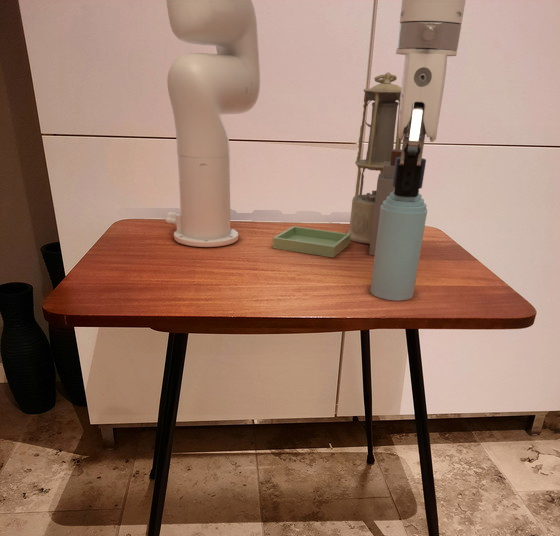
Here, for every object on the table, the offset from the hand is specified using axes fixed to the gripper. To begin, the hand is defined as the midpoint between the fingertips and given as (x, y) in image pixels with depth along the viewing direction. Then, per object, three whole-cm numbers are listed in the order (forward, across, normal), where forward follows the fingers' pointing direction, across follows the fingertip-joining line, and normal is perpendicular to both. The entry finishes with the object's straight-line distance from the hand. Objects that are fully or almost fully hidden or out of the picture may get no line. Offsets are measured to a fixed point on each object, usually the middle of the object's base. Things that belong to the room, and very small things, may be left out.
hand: (406, 191), depth 77 cm
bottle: (+15, 0, 0) cm, 15 cm away
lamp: (+15, +33, +6) cm, 37 cm away
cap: (-1, 0, 0) cm, 1 cm away
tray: (+15, +21, +16) cm, 31 cm away
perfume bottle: (+15, +23, +2) cm, 28 cm away
